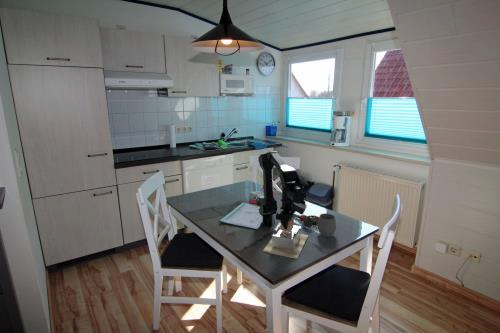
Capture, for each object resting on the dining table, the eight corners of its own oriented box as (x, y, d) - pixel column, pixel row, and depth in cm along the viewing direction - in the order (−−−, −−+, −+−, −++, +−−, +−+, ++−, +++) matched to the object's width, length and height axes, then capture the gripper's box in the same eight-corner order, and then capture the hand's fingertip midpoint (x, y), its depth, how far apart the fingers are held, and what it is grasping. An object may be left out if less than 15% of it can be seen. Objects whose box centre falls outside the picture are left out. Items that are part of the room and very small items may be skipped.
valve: (332, 227, 164) (316, 232, 154) (295, 215, 183) (279, 218, 173) (333, 216, 164) (317, 220, 153) (296, 205, 183) (280, 208, 172)
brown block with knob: (283, 225, 144) (283, 213, 142) (293, 227, 142) (294, 214, 140) (280, 230, 139) (280, 217, 138) (290, 231, 138) (291, 218, 136)
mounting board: (277, 231, 156) (277, 229, 155) (308, 236, 149) (308, 235, 149) (263, 251, 136) (263, 250, 136) (297, 259, 130) (297, 257, 130)
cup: (321, 228, 158) (322, 211, 156) (338, 233, 152) (339, 215, 150) (313, 235, 151) (314, 217, 149) (330, 240, 145) (332, 222, 143)
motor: (282, 231, 153) (282, 218, 151) (302, 235, 149) (302, 221, 148) (271, 247, 138) (272, 232, 136) (293, 251, 134) (294, 236, 132)
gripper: (300, 205, 125) (299, 238, 129) (309, 191, 142) (308, 221, 146) (275, 201, 129) (274, 234, 133) (287, 189, 146) (286, 218, 150)
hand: (287, 226), depth 140 cm, fingers closed on brown block with knob, 5 cm apart
